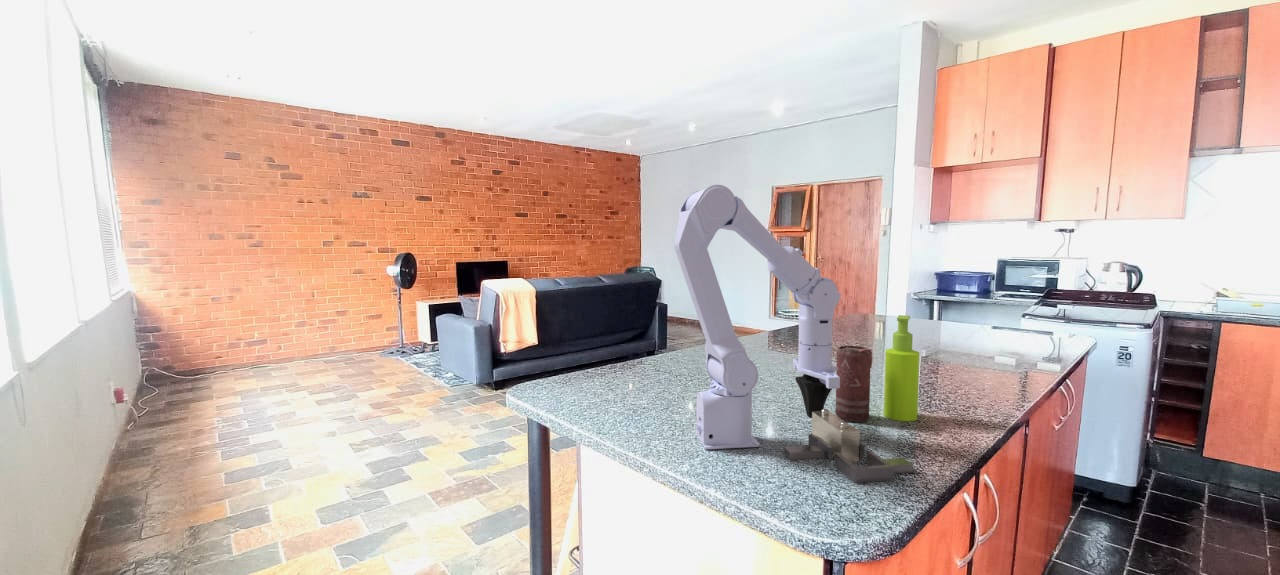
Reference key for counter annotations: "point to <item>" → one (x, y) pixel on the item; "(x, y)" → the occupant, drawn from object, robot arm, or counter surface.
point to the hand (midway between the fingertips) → (813, 416)
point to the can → (853, 383)
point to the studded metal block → (836, 434)
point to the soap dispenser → (901, 375)
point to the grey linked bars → (872, 473)
